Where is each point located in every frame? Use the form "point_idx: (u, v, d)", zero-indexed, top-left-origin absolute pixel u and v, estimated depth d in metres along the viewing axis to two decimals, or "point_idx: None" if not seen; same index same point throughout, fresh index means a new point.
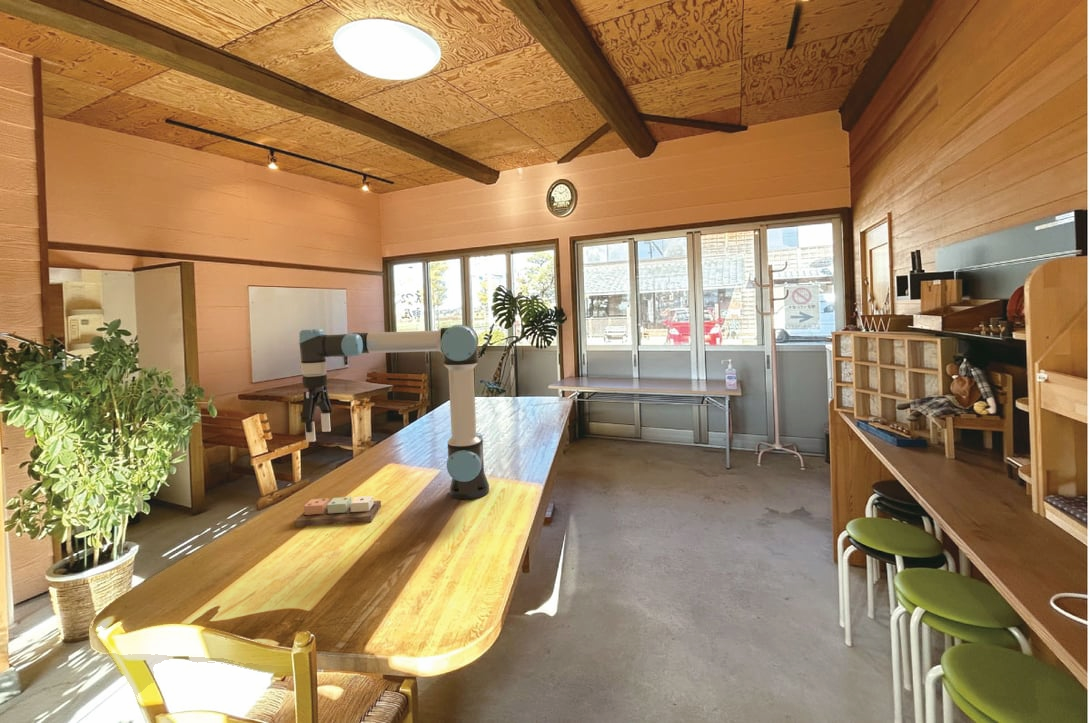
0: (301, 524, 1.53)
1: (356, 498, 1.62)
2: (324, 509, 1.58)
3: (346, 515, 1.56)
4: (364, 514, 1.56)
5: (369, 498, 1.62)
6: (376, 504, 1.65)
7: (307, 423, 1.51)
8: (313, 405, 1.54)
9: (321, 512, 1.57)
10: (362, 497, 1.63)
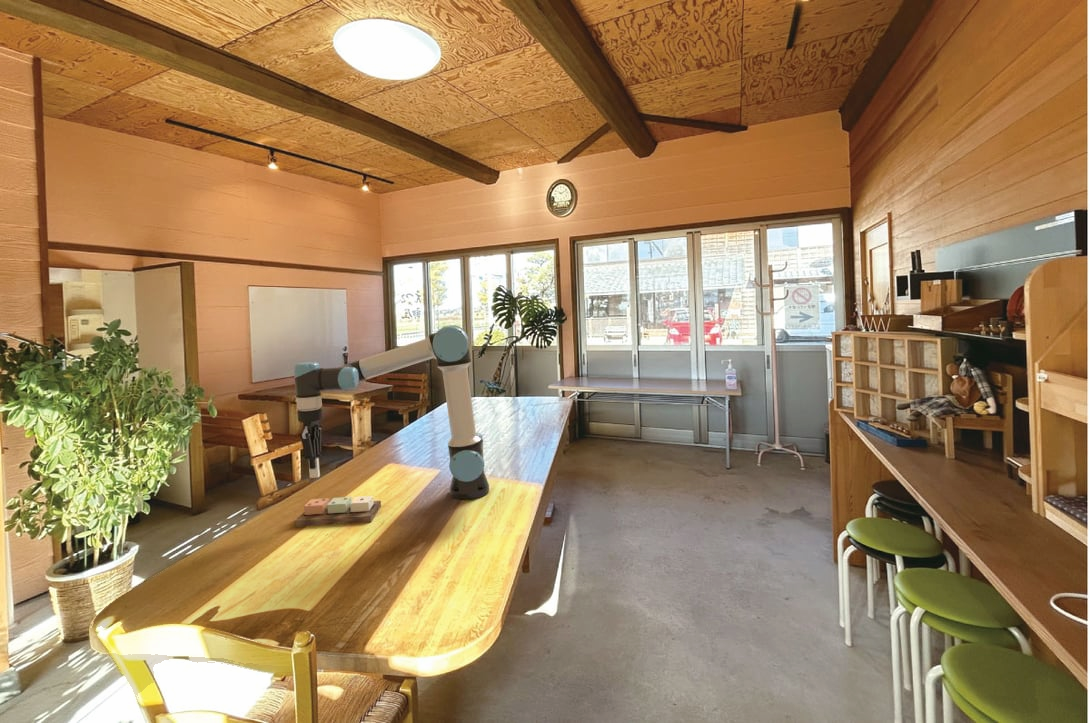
0: (301, 524, 1.53)
1: (356, 498, 1.62)
2: (324, 509, 1.58)
3: (346, 515, 1.56)
4: (364, 514, 1.56)
5: (369, 498, 1.62)
6: (376, 504, 1.65)
7: (311, 460, 1.56)
8: (312, 442, 1.56)
9: (321, 512, 1.57)
10: (362, 497, 1.63)
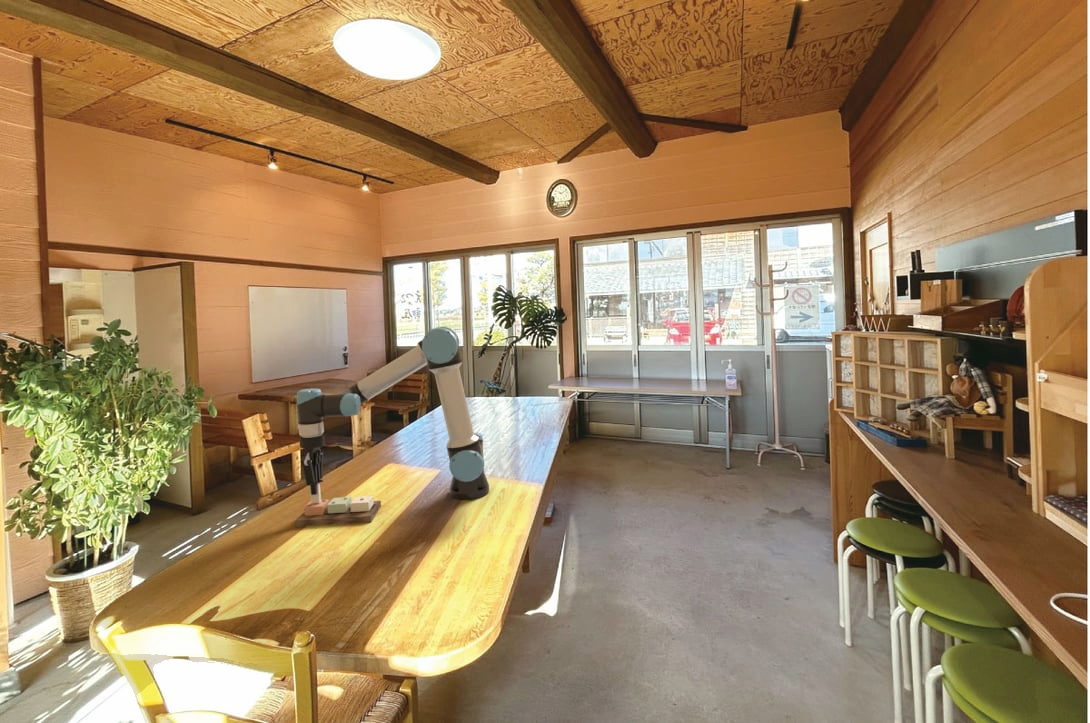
0: (301, 524, 1.53)
1: (356, 498, 1.62)
2: (324, 510, 1.58)
3: (346, 515, 1.56)
4: (364, 514, 1.56)
5: (369, 498, 1.62)
6: (376, 504, 1.65)
7: (312, 486, 1.57)
8: (314, 468, 1.56)
9: (321, 513, 1.57)
10: (362, 497, 1.63)
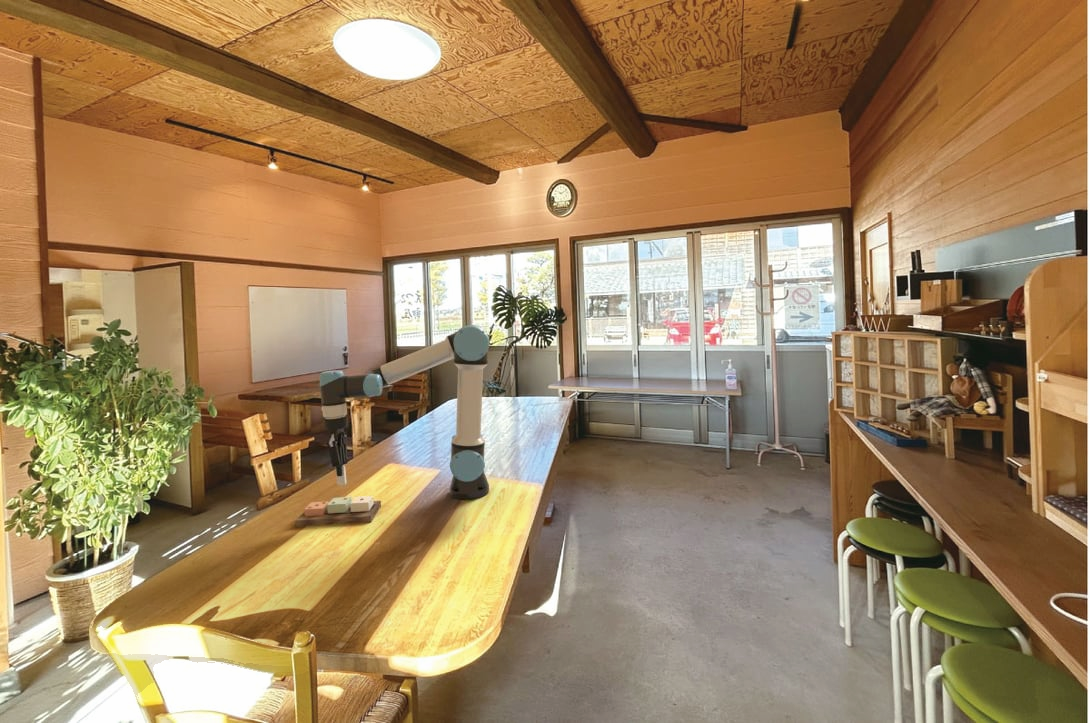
0: (301, 524, 1.53)
1: (356, 498, 1.62)
2: (324, 512, 1.58)
3: (346, 515, 1.56)
4: (364, 514, 1.56)
5: (369, 498, 1.62)
6: (376, 504, 1.65)
7: (338, 467, 1.57)
8: (339, 450, 1.57)
9: None
10: (362, 497, 1.63)
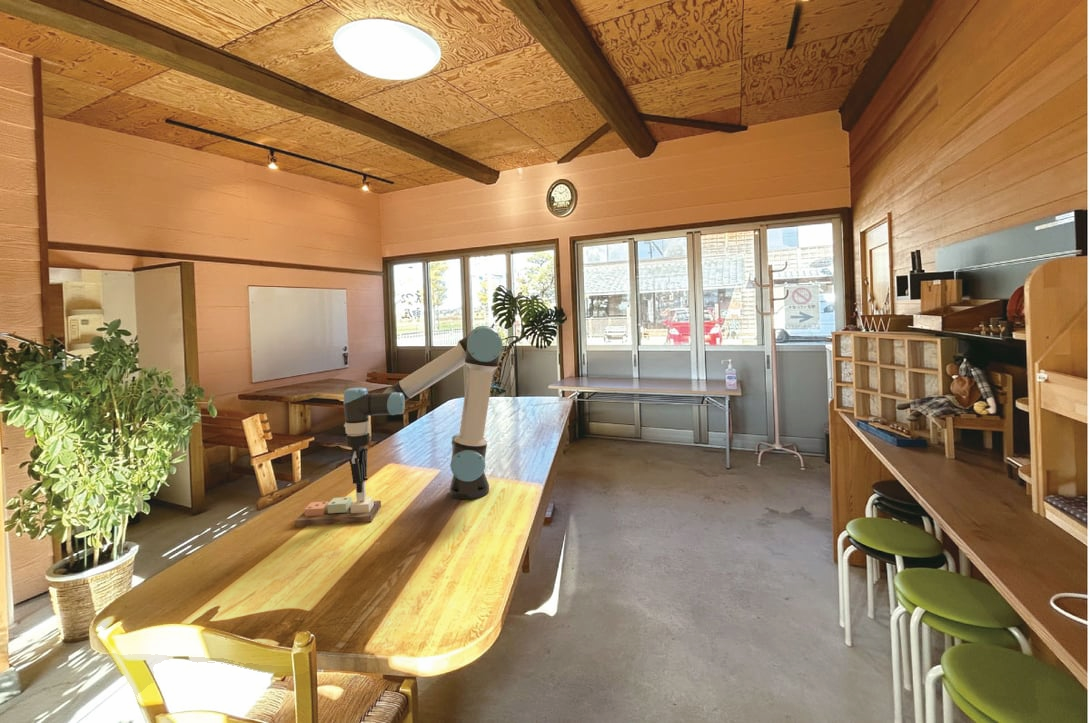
0: (301, 524, 1.53)
1: (356, 500, 1.62)
2: (324, 512, 1.58)
3: (346, 515, 1.56)
4: (364, 514, 1.56)
5: (369, 500, 1.62)
6: (376, 504, 1.65)
7: (358, 484, 1.58)
8: (360, 466, 1.58)
9: None
10: None
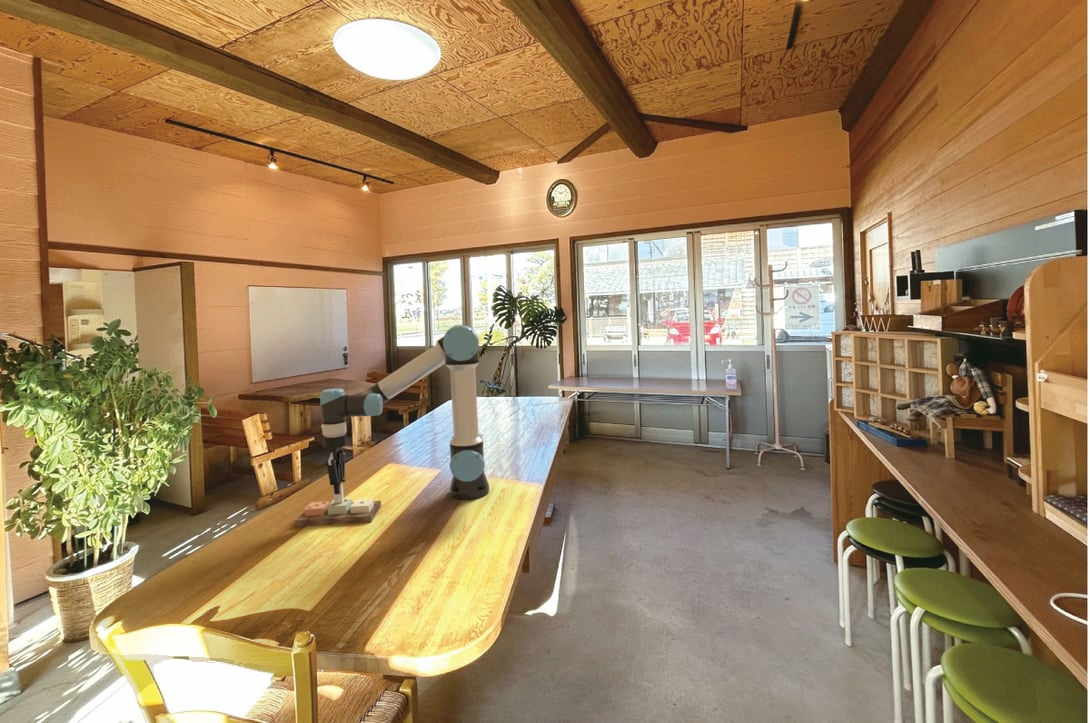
0: (301, 524, 1.53)
1: (356, 501, 1.62)
2: (324, 512, 1.58)
3: (346, 515, 1.56)
4: (364, 514, 1.56)
5: (369, 501, 1.62)
6: (376, 504, 1.65)
7: (335, 485, 1.58)
8: (337, 468, 1.57)
9: None
10: (362, 500, 1.63)
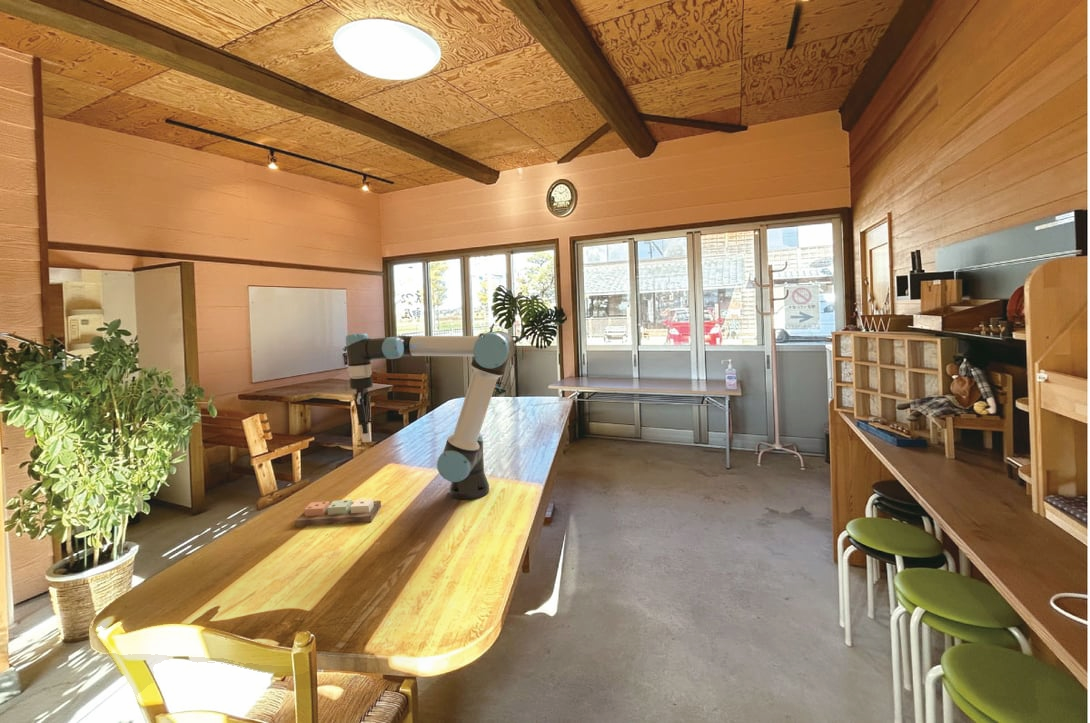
0: (301, 524, 1.53)
1: (356, 501, 1.62)
2: (324, 512, 1.58)
3: (346, 515, 1.56)
4: (364, 514, 1.56)
5: (369, 501, 1.62)
6: (376, 504, 1.65)
7: (363, 425, 1.66)
8: (364, 408, 1.66)
9: None
10: (362, 500, 1.63)
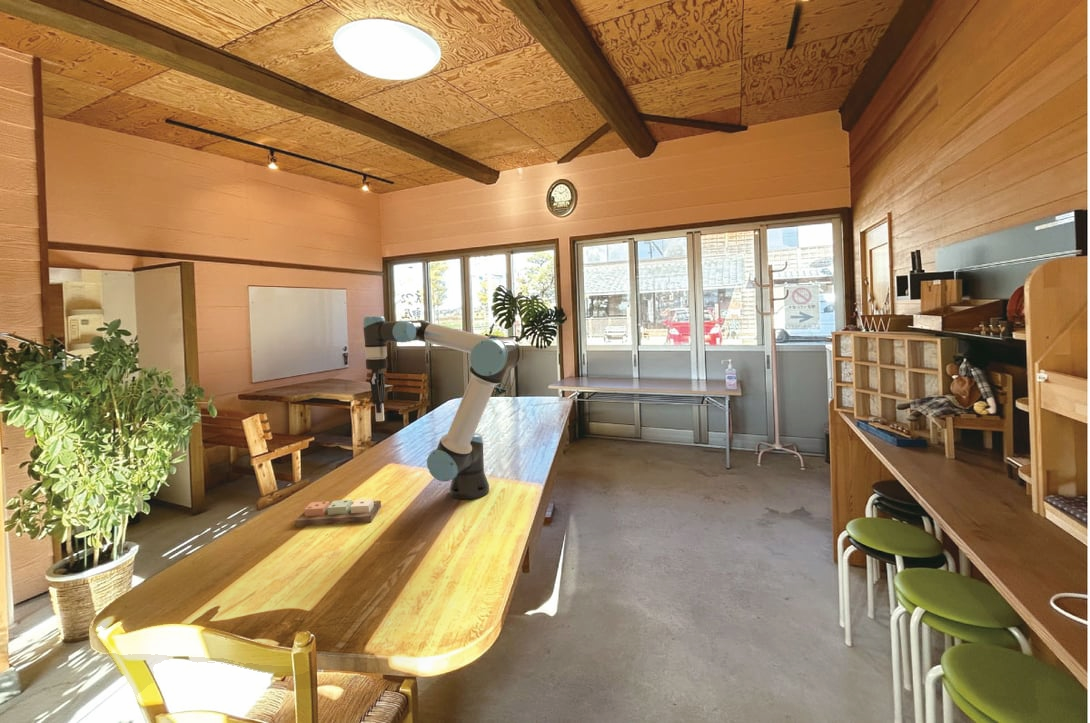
0: (301, 524, 1.53)
1: (356, 501, 1.62)
2: (324, 512, 1.58)
3: (346, 515, 1.56)
4: (364, 514, 1.56)
5: (369, 501, 1.62)
6: (376, 504, 1.65)
7: (377, 405, 1.72)
8: (379, 388, 1.72)
9: None
10: (362, 500, 1.63)
